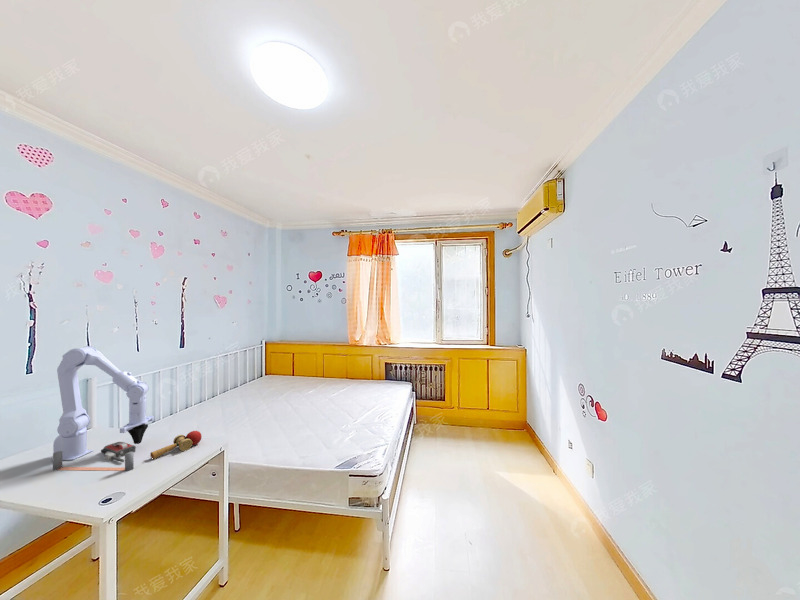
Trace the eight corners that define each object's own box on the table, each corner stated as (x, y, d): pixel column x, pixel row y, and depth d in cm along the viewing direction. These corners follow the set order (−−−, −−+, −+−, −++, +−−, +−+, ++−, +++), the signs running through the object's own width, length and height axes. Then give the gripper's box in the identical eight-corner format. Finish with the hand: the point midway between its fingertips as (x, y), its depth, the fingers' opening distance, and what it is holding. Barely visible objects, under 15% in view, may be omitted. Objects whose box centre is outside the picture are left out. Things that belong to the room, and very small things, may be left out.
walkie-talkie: (94, 456, 126) (119, 466, 118) (94, 445, 126) (119, 454, 118) (120, 447, 134) (146, 455, 126) (120, 436, 134) (146, 444, 126)
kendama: (158, 465, 120) (206, 441, 135) (154, 449, 120) (203, 427, 135) (150, 464, 124) (198, 440, 139) (146, 448, 124) (194, 427, 139)
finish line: (50, 470, 114) (51, 454, 115) (58, 466, 117) (58, 451, 117) (129, 471, 113) (129, 454, 113) (135, 467, 115) (135, 451, 116)
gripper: (131, 417, 126) (131, 451, 126) (160, 406, 141) (160, 436, 141) (114, 417, 127) (114, 450, 126) (145, 406, 141) (145, 436, 141)
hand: (137, 443), depth 134 cm, fingers closed
